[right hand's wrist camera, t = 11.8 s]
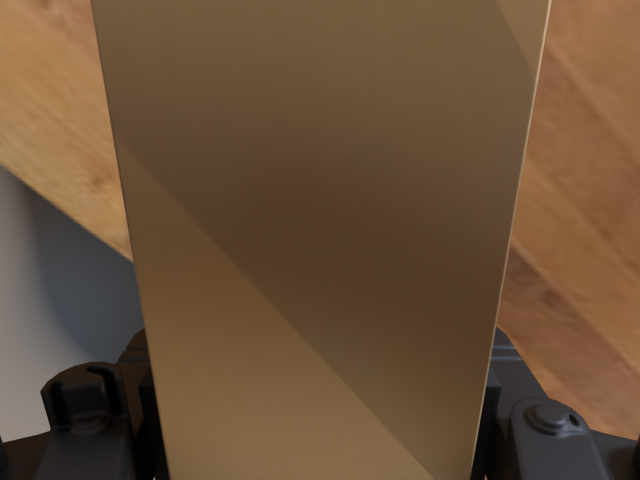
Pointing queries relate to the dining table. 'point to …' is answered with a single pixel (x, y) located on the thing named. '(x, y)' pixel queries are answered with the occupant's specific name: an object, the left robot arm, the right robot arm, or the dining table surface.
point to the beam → (320, 223)
